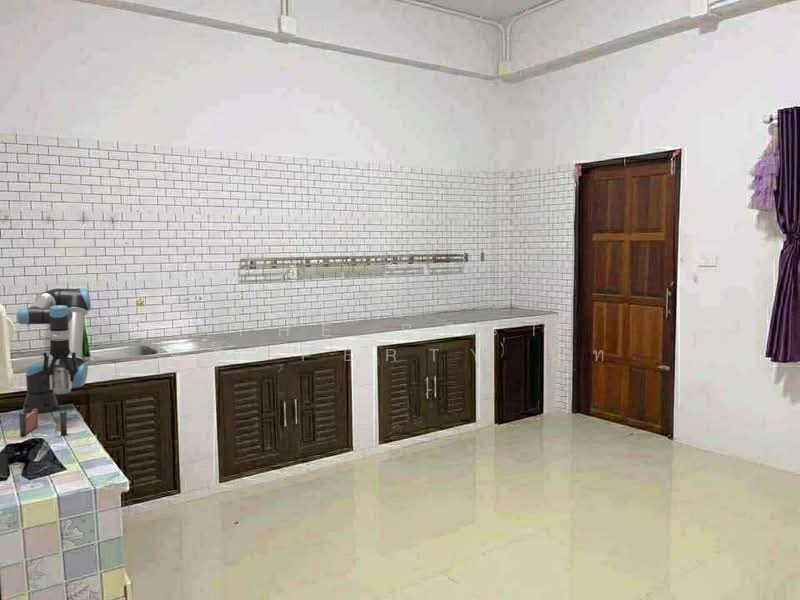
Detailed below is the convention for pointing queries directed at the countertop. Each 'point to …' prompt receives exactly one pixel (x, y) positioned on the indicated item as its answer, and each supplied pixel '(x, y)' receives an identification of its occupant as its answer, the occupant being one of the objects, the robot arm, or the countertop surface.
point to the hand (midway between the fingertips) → (61, 388)
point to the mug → (61, 382)
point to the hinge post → (22, 424)
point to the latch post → (62, 423)
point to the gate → (31, 420)
